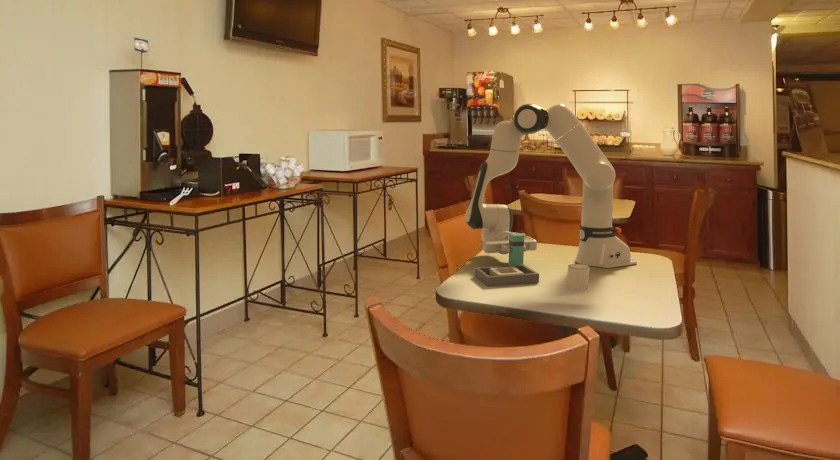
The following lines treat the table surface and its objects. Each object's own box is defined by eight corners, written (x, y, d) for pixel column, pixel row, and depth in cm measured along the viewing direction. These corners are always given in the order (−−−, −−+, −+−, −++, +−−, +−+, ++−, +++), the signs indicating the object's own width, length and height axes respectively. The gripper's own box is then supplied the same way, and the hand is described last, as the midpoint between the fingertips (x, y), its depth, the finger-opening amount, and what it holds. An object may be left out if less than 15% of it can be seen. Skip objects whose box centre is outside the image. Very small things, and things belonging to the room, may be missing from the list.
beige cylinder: (590, 290, 178) (591, 269, 177) (567, 289, 179) (568, 268, 178) (588, 284, 184) (589, 263, 183) (566, 283, 186) (567, 263, 185)
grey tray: (523, 272, 200) (523, 264, 199) (538, 282, 187) (539, 273, 187) (475, 275, 196) (475, 267, 195) (487, 286, 183) (487, 277, 183)
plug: (518, 267, 206) (519, 233, 204) (523, 270, 202) (524, 235, 200) (508, 268, 205) (509, 233, 203) (512, 271, 201) (513, 236, 199)
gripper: (477, 235, 212) (490, 243, 199) (527, 232, 216) (543, 239, 203) (477, 251, 213) (489, 260, 200) (527, 248, 218) (542, 256, 204)
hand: (517, 249), depth 202 cm, fingers closed on plug, 4 cm apart
